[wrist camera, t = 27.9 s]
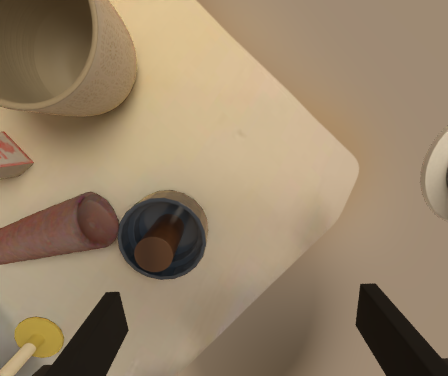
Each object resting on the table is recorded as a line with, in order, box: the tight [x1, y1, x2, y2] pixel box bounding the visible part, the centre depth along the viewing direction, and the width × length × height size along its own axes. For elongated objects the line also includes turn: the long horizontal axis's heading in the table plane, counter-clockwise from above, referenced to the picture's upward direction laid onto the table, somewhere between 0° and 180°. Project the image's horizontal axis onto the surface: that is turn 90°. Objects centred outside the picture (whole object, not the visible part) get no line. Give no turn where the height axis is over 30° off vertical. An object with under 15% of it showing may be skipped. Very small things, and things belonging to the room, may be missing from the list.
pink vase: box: [0, 192, 119, 265], centre depth 38 cm, size 21×9×9 cm, turn 111°
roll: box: [134, 214, 184, 272], centre depth 37 cm, size 6×6×10 cm
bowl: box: [117, 190, 208, 280], centre depth 39 cm, size 14×14×6 cm
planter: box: [0, 0, 137, 117], centre depth 29 cm, size 17×17×15 cm
